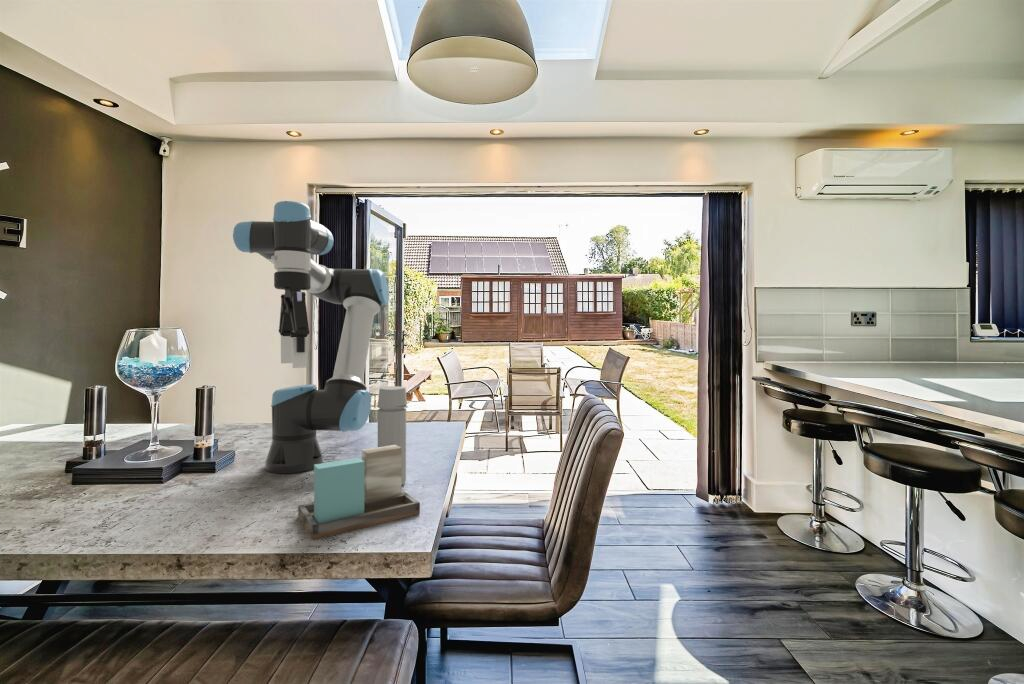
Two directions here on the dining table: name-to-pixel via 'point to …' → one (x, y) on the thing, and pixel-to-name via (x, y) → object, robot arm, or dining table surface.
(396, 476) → the track base
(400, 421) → the water bottle
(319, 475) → the teal door
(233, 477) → the dining table surface
